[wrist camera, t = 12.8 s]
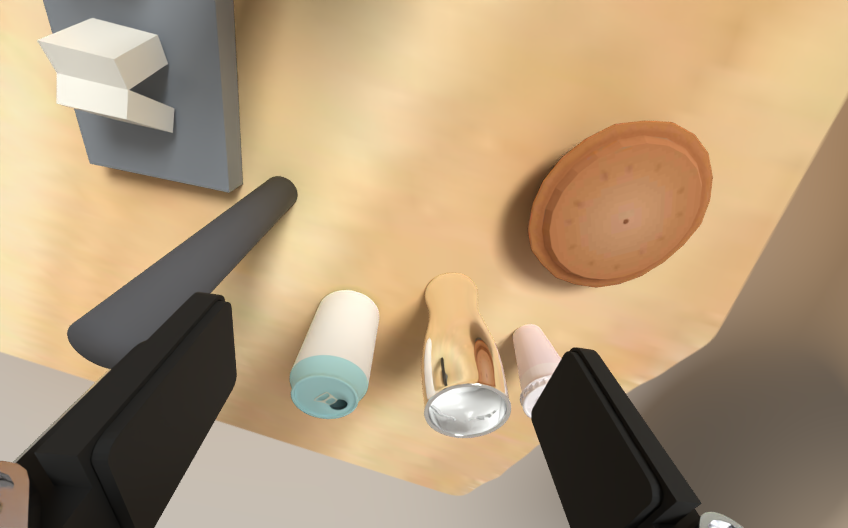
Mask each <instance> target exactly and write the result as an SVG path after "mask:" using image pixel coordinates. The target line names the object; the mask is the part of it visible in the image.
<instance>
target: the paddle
mask: <svg viewBox="0 0 848 528" xmlns="http://www.w3.org/2000/svg"><path fill="white" fill-rule="evenodd" d="M57 104H60V105H64V106H67V107H71V108H74V109H78V110H82V111H85V112H89V113H92V114H96V115H100V116H103V117H107V118H110V119H114V120H118V121H122V122H127V123H131V124H136V125H140V126H145V127H149V128H153V129H158V130H162V131H167V132H171V133H173V122H174V108H172V107H170V106H167V105H165V104H162V103H160V102H157V101H155V100H153V99H150V98H148V97H145V96H143V95H140V94H138V93H135V92H133V91H130V90H126V89H122V88H118V87H113V86H109V85H105V84H101V83H97V82H92V81H88V80H84V79H80V78H76V77H71V76H67V75H63V74H59V73H57Z"/></svg>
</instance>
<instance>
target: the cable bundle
mask: <svg viewBox="0 0 848 528" xmlns="http://www.w3.org/2000/svg"><path fill="white" fill-rule="evenodd" d="M297 196H298V195H297V190H296V187H295V186H294V184H293V183H292V182H291V181H290V180H288V179H286V178H284V177H280V176H275V177H272V178H270V179H269V180H267V181H266V182H265V183H263V184H262V185H261V186H259V187H258V188H256V189H255V190H254V191H252V192H251V193H250V194H248V195H247V196H246V197H244V198H243V199H241V200H240V201H239V202H237V203H236V204H235V205H233V206H232V207H231V208H229V209H228V210H227V211H225V212H224V213H222V214H221V215H220V216H218V217H217V218H216V219H214V220H213V221H212V222H210V223H209V224H207V225H206V226H205V227H203V228H202V229H201V230H199V231H198V232H197V233H195V234H194V235H193V236H191V237H190V238H188V239H187V240H186V241H184V242H183V243H182V244H180V245H179V246H178V247H176V248H175V249H173V250H172V251H171V252H169V253H168V254H167V255H165V256H164V257H163V258H161V259H160V260H159V261H157V262H156V263H154V264H153V265H152V266H150V267H149V268H148V269H146V270H145V271H144V272H142V273H141V274H140V275H138V276H137V277H135V278H134V279H133V280H131V281H130V282H129V283H127V284H126V285H125V286H123V287H122V288H120V289H119V290H118V291H116V292H115V293H114V294H112V295H111V296H110V297H108V298H107V299H106V300H104V301H103V302H101V303H100V304H99V305H97V306H96V307H95V308H93V309H92V310H91V311H89V312H88V313H86V314H85V315H84V316H82V317H81V318H80V319H78V320H77V321H76V322H74V323H73V324H72V325H71V326H70V327H69V329H68V332H67V336H68V340H69V342H70V344H71V345H72V347H73V348H74V349H75V350H76V351H77V352H78V353H79V354H80V355H82V356H83V357H84V358H86V359H87V360H89V361H91V362H93V363H95V364H97V365H99V366H102V367H105V368H108V369H112V368H113V367H114V366H115V365H116V364H117V363H118V362H119V361H120V360H121V359H122V358H123V357H124V356H125V355H126V354H127V353H128V352H129V351H131V350H132V349H133V348H134V347H135V346H136V345H138V344H139V343H141V342H143V341H146V340H147V339H148V338H149V337H150V336H151V335H152V334H153V333H154V332H155V331H156V330H157V329H158V328H159V327H160V326H161V325H162V324H163V323H164V322H165V321H166V320H167V319H168V318H169V317H170V316H171V315H172V314H173V313H174V312H175V311H176V310H177V309H178V308H179V307H180V306H181V305H182V304H184V303H185V302H186V301H187V300H188V299H189V298H190V297H191V296H192V295H193V294H194V293H196V292H203V293H209V294H210V293H211V292H212V291H213V290H214V289H215V288H216V287H217V286H218V285H219V284H220V282H221V281H222V280H223V279H224V278H225V277H226V276H227V275H228V274H229V273H230V272H231V271H232V270H233V268H234V267H235V266H236V265H237V264H238V263H239V262H240V261H241V260H242V259H243V258H244V257H245V256H246V255H247V253H248V252H249V251H250V250H251V249H252V248H253V247H254V246H255V245H256V244H257V243H258V242H259V241H260V240H261V238H262V237H263V236H264V235H265V234H266V233H267V232H268V231H269V230H270V229H271V228H272V227H273V226H274V224H275V223H276V222H277V221H278V220H279V219H280V218H281V217H282V216H283V215H284V214H285V213H286V212H287V211H288V209H289V208H290V207H291V206H292V205H293V204H294V203H295V202H296V200H297Z"/></svg>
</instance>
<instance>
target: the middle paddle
mask: <svg viewBox="0 0 848 528" xmlns="http://www.w3.org/2000/svg"><path fill="white" fill-rule="evenodd" d="M37 41H38V43H39V44H40V46H41V48H42V49H43V51H44V53H45V54H46V56H47V57H48V59H49V61H50V62H51V64H52V66H53V67H54V69H55V71H56V72H57V73H59V74H63V75H67V76H71V77H76V78H80V79H84V80H88V81H92V82H97V83H101V84H105V85H109V86H113V87H118V88H122V89H126V90H130V89H131V88H133V87H134V86H136V85H137V84H139V83H140V82H142V81H143V80H144V79H146V78H147V77H149V76H150V75H152V74H153V73H155V72H156V71H158V70H159V69H161V68H162V67H164V66H165V65H167V64H168V62H167V59H166V57H165V54H164V51H163V48H162V45H161V42H160V40H159V37H158V35H157V34H153V33H149V32H145V31H141V30H137V29H133V28H130V27H126V26H122V25H118V24H114V23H110V22H107V21H103V20H99V19H95V18H90V19H88V20H85V21H83V22H81V23H78V24H76V25H73V26H71V27H68V28H66V29H63V30H61V31H58V32H56V33H54V34H51V35H49V36H46V37H44V38H41V39H39V40H37Z"/></svg>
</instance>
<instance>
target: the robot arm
mask: <svg viewBox="0 0 848 528" xmlns="http://www.w3.org/2000/svg"><path fill="white" fill-rule="evenodd" d="M236 377H237V373H236V360H235V346H234V333H233V320H232V307H231V304H230V303H229V302H225V299H224V297H223V296H222V295H216V294H209V293H203V292H196V293H194V294H193V295H192V296H191V297H190V298H189V299H188V300H187V301H186V302H185V303H184V304H182V305H181V306H180V307H179V308H178V309H177V310H176V311H175V312H174V313H173V314H172V315H171V316H170V317H169V318H168V319H167V320H166V321H165V322H164V323H163V324H162V325H161V326H160V327H159V328H158V329H157V330H156V331H155V332H154V333H153V334H152V335H151V336H150V337H149V338H148V339H147V340H146V341H143V342H141V343H139V344H138V345H136V346H135V347H134V348H133V349H132V350H131V351H129V352H128V353H127V354H126V355H125V356H124V357H123V358H122V359H121V360H120V361H119V362H118V363H117V364H116V365H115V366H114V367H113V368H112V369H109V370H108V371H107V372H105V373H104V374H103V375H102V376H101V377H100V378H99V379H98V380H97V381H96V382H95V383H94V384H93V385H92V386H91V387H90V388H89V389H88V390H87V391H86V392H85V393H84V394H83V395H82V396H81V397H80V398H79V399H78V400H77V401H76V402H74V404H72V405H71V406H70V407H69V408H68V409H67V410H66V411H65V412H64V413H63V414H62V415H61V416H60V417H59V418H58V419H57V420H56V421H55V422H54V423H53V424H52V425H51V426H50V427H49V428H48V429H47V430H46V431H44V432H43V433H42V434H41V435H40V436H39V437H38V438H37V440H35V441H34V442H33V443H32V444H31V445H30V446H29V447H28V448H27V449H26V450H25V451H24V452H23V453H22V454H21V455H20V456H19V457H18V458H17V459H16V460H15V461H13V462H6V461H0V528H154V527H155V525H156V524H157V522H158V520H159V518H160V517H161V515H162V513H163V511H164V509H165V508H166V506H167V504H168V502H169V501H170V499H171V497H172V495H173V494H174V492H175V490H176V488H177V487H178V485H179V483H180V481H181V479H182V478H183V476H184V474H185V472H186V471H187V469H188V467H189V465H190V463H191V462H192V460H193V458H194V457H195V455H196V453H197V451H198V449H199V448H200V446H201V444H202V442H203V441H204V439H205V437H206V435H207V433H208V432H209V430H210V428H211V426H212V425H213V423H214V421H215V419H216V418H217V416H218V414H219V412H220V411H221V409H222V407H223V405H224V404H225V402H226V400H227V398H228V397H229V395H230V393H231V391H232V389H233V387H234V385H235V382H236ZM531 419H532V423H533V426H534V428H535V431H536V434H537V437H538V440H539V442H540V445H541V448H542V450H543V453H544V456H545V459H546V461H547V464H548V467H549V470H550V472H551V475H552V478H553V481H554V484H555V486H556V489H557V492H558V495H559V498H560V500H561V503H562V506H563V509H564V511H565V514H566V517H567V520H568V522H569V525H570V528H743V527H742V526H741V525H739V524H738V523H737V522H735V521H734V520H732V519H730V518H728V517H726V516H725V515H722V514H719V513H716V512H705V513H704V514H703V515H702V516H699V515H698V513H697V512H696V510H695V508H696V507H698V506H699V505H700V504H701V502H700V500H699V499H698V498H697V496H696V495H695V493H694V492H693V490H692V489H691V487H690V486H689V484H688V483H687V482H686V480H685V479H684V478H683V476H682V474H681V473H680V472H679V470H678V469H677V467H676V466H675V464H674V463H673V462H672V460H671V458H670V457H669V456H668V454H667V453H666V451H665V450H664V449H663V447H662V446H661V444H660V443H659V441H658V440H657V438H656V437H655V435H654V434H653V432H652V431H651V430H650V428H649V427H648V425H647V424H646V422H645V421H644V420H643V418H642V417H641V415H640V414H639V412H638V411H637V409H636V408H635V406H634V405H633V404H632V402H631V401H630V399H629V398H628V396H627V395H626V393H625V392H624V391H623V389H622V388H621V386H620V385H619V383H618V382H617V380H616V379H615V378H614V376H613V375H612V373H611V372H610V370H609V369H608V367H607V366H606V365H605V363H604V362H603V360H602V359H601V357H600V356H599V354H598V353H597V352H596V351H594V350H590V349H583V348H572V349H571V350H570V351H569V352H566V353H565V354H564V355H563V357H562V359H561V361H560V362H559V364H558V366H557V367H556V369H555V371H554V373H553V374H552V376H551V378H550V379H549V381H548V383H547V385H546V386H545V388H544V390H543V391H542V393H541V395H540V397H539V398H538V400H537V402H536V403H535V405H534V407H533V409H532V412H531Z"/></svg>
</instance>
